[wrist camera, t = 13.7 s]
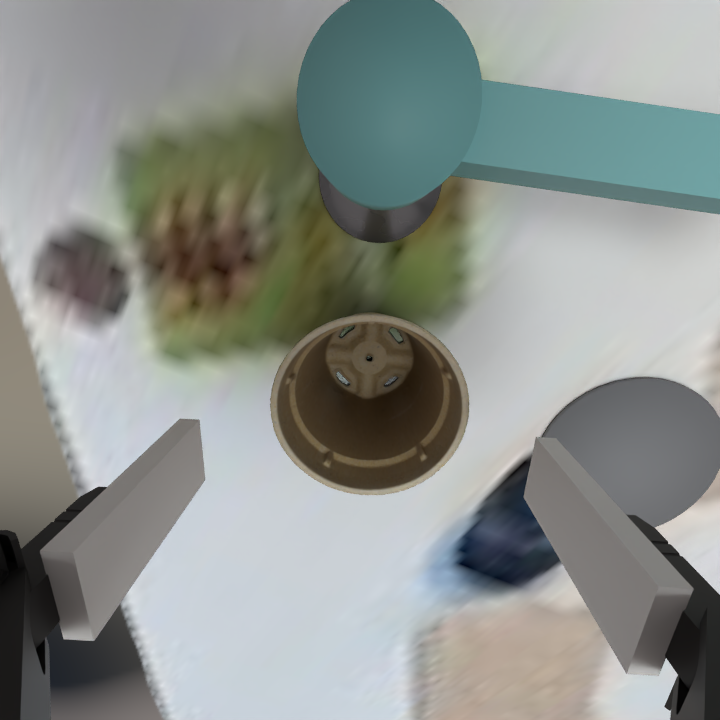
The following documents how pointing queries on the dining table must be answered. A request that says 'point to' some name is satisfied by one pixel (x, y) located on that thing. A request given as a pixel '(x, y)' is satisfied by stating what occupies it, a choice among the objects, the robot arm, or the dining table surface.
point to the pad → (643, 444)
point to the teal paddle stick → (480, 121)
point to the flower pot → (369, 405)
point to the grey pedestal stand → (376, 215)
